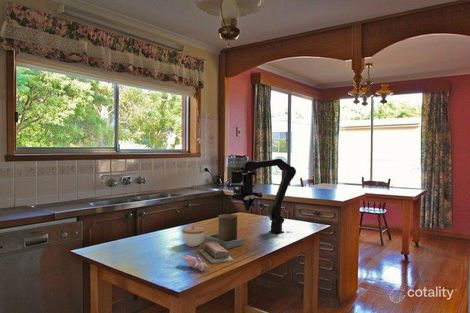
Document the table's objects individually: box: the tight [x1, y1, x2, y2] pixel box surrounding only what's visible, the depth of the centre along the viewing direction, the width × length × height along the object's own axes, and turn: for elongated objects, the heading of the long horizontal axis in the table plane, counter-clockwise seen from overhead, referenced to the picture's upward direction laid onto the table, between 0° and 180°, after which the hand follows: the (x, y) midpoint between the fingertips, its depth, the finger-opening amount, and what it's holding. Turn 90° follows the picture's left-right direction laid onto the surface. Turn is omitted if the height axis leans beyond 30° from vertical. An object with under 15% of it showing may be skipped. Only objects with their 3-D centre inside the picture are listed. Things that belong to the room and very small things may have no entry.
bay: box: [203, 232, 245, 250], centre depth 173 cm, size 12×17×3 cm
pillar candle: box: [217, 213, 238, 242], centre depth 175 cm, size 10×10×15 cm
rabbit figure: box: [180, 254, 211, 273], centre depth 138 cm, size 6×6×15 cm
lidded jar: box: [181, 225, 205, 247], centre depth 170 cm, size 11×11×9 cm
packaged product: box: [198, 242, 234, 264], centre depth 153 cm, size 18×5×10 cm
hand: (247, 211), depth 191 cm, fingers closed
